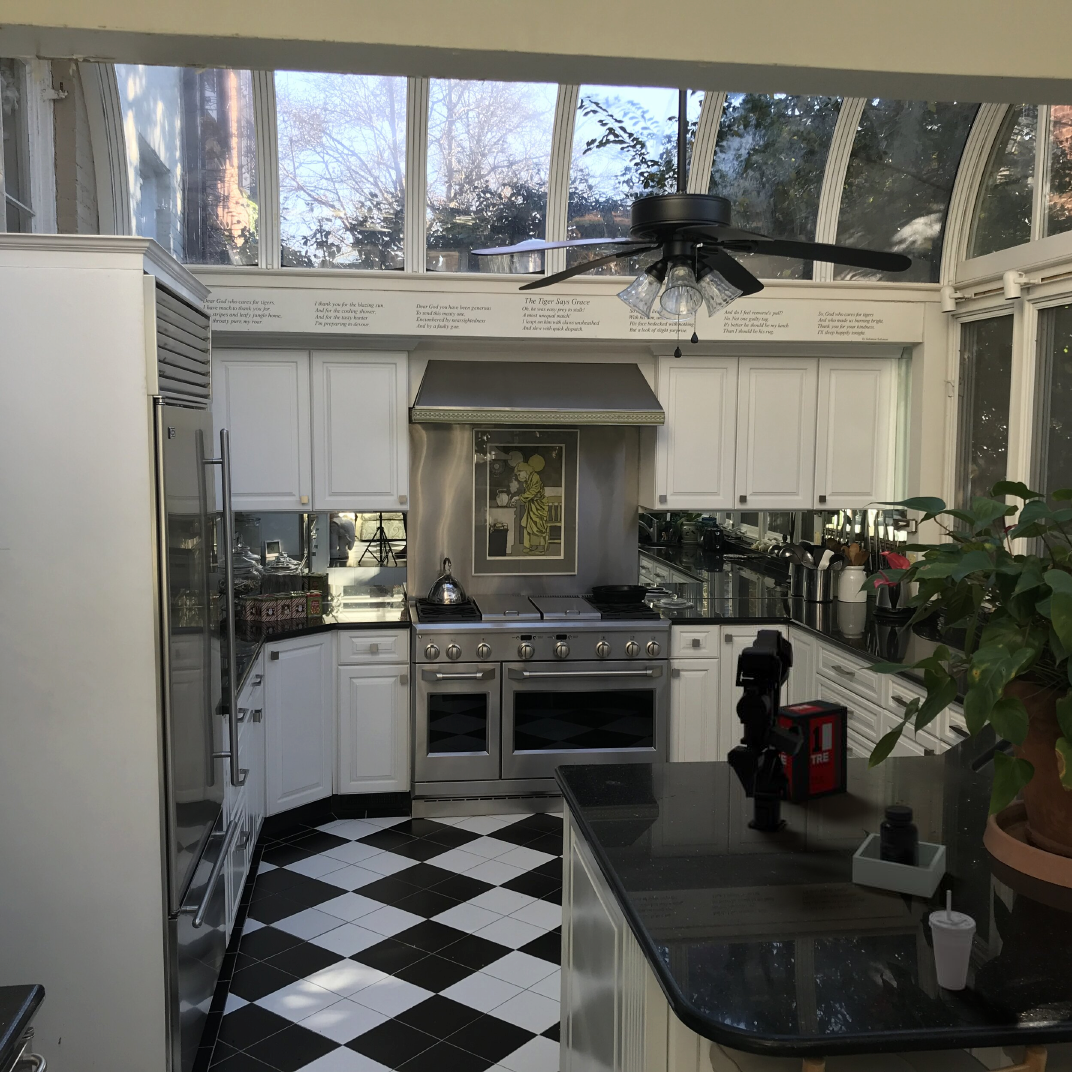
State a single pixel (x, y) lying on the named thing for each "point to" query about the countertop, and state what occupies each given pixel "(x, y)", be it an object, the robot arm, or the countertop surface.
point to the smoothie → (951, 945)
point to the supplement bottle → (899, 836)
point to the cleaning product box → (816, 750)
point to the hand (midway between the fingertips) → (758, 790)
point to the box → (899, 869)
